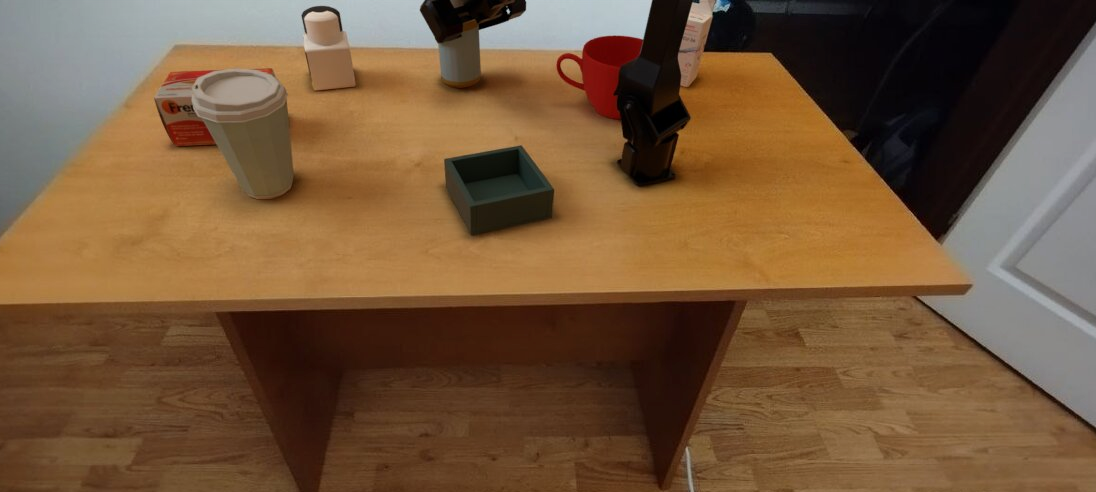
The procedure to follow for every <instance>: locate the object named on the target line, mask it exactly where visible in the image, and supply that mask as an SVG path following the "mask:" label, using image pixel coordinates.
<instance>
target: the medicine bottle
mask: <svg viewBox="0 0 1096 492" xmlns="http://www.w3.org/2000/svg"><path fill="white" fill-rule="evenodd" d="M300 16H301V20H302V26H303V30H304V33H303V35H302V39H303V47H304V54H305V59H306V64H307V68H308V72H309V77H310V83H311V86H312V89H313V91H323V90H324V91H325V90H334V89H335V90H336V89H345V88H354V87H356V78H355V71H354V65H353V59H352V54H351V48H350V44H349V39H348V36H347V32H346V31H345V30H344V29H343V25H342V24H343V23H342V18H341V13H340V11H339V10H338V9H337V8H335V7H331V6H328V5H316V6H315V5H314V6H311V7H308V8H306V9H304V10H303V11H302V12H301V15H300Z"/></svg>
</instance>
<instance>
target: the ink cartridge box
mask: <svg viewBox="0 0 1096 492" xmlns="http://www.w3.org/2000/svg"><path fill="white" fill-rule="evenodd" d="M716 1H717V0H699V3H697V2H694V1H693V2H692V6H691V10H690V13H689V17H688V20H687V24H686V28H685V31H684V35H683V39H682V42H681V46H680V49H679V53H678V62H679V66H680V71H681V84H680V87H683V88H689V87H690V85H691V84H692V83H693V82H694V81H695V80H696V78H697V77H698V73H699V69H700V65H701V62H702V58H703V54H704V50H705V46H706V44H707V39H708V35H709V32H710V28H711V25H712V20H713V19H714V15H713V13H714V9H715V4H716Z"/></svg>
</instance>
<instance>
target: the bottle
mask: <svg viewBox="0 0 1096 492" xmlns="http://www.w3.org/2000/svg"><path fill="white" fill-rule="evenodd" d="M450 1H451V3H452V5H453V6H454V8H457V7H460V6H463V2H462V0H450ZM461 35H462V37H460V38H457V39H455V40H452V41H447V42H444V43H439V44H438V43H437V45H438V57H439V66H440V67H439V68H440V76H441V80H442V82H443V83H444V84H445V85H448V86H449V87H453V88H460V89H461V88H468V87H469V88H470V87H471V86H474V85H476V84H478V82H479V81H480V80H481V77H482V70H481V69H482V66H481V45H480V30H479V24H477V22H476V20H473V21H470V22H467V23H464V24H463V32H462V33H461Z"/></svg>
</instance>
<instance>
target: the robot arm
mask: <svg viewBox="0 0 1096 492" xmlns="http://www.w3.org/2000/svg"><path fill="white" fill-rule="evenodd" d="M462 2H463V6H460V7H457V8H454V6H453V5H452V3H451V1H450V0H423V2H422V4H421V5H420V7H419V12H420V15H421V16H422V17H423V20H424V21H425V23H426V25H427V26H428V28H429V30H430V32H431V33H432V35H433V37H434V40H435V41H436V43H437V45H438V44H439V43H444V42H447V41H452V40H455V39H457V38H460V37H462V35H461V33H462V32H463V24H464V23H467V22H470V21H473V20H476V22H477V24H479V31H481V30H484V29H487V28H490V27H495V26H497V25H501V24H503V23H507V22H508V21H510V20H513V19H517V18H519V17H521V16H522V15H523V14H524V13H525V12H526V11H527V1H526V0H462ZM692 2H693V3H694V0H651V2H650V7H649V11H648V12H649V13H648V16H647V21H646V25H645V29H644V33H643V38H642V39H643V42H642V47H641V51H640V54H639V56H638V58H636V59H634V60H632V61H630V62H628V63H626V64H624V65H622V66H621V67H620V70H619V76H618V85H617V88H616V90H615V92H614V93H613V95H614V96H616V95H618V96H617V99H616V107H617V111H619V112H620V118H621V119H620V124H621V125H620V126H621V132H622V133H621V134H622V137H623V139H625V140H626V141H625V142H624V144H623V149H622V154H621V158H619V159H617V160H616V165H617V166H618V167H619V168H620V170H621V171H623V172H624V174H625V175H626V176H627V177H628V178H629V179H630V180H631V181H632V182H633V183H634V184H635V185H636V186H638V187H641V186H647V185H651V184H655V183H661V182H665V181H666V182H667V181H670V180H674V179H676V178H677V174H676V172H675V171H673V170H672V165H673V160H674V156H675V152H676V148H677V144H678V140H679V137H680V135H679V133H678V132H679V131H682V130H684V129H685V128H686V127H687V125H688V123H689V122H690V121H691V120H692V117H691V115H690V112H689V110H688V109H687V107H686V105H685V103H684V101H683V99H682V97H681V95H680V92H681V86H680V84H681V71H680V66H679V62H678V53H679V49H680V46H681V42H682V39H683V35H684V31H685V28H686V24H687V20H688V17H689V13H690V10H691V6H692ZM508 11H509V13H508Z"/></svg>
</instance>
